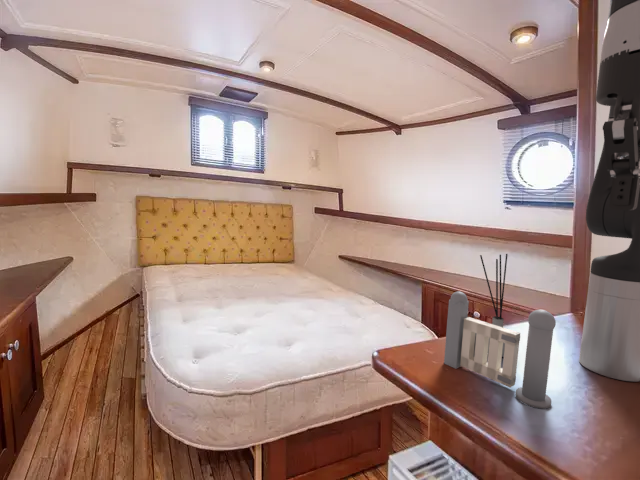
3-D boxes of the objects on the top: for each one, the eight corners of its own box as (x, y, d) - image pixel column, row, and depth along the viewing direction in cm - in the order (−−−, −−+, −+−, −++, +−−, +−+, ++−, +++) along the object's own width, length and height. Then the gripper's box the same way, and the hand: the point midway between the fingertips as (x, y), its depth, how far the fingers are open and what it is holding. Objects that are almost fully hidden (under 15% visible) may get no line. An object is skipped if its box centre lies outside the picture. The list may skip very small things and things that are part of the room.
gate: (515, 384, 54) (520, 332, 53) (509, 387, 53) (515, 335, 52) (465, 363, 61) (469, 316, 60) (459, 365, 60) (463, 318, 59)
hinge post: (523, 387, 55) (532, 303, 53) (556, 401, 51) (567, 311, 49) (509, 397, 52) (519, 308, 50) (543, 412, 48) (554, 317, 46)
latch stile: (454, 358, 64) (459, 288, 63) (482, 370, 60) (489, 295, 58) (442, 363, 62) (447, 290, 60) (471, 376, 58) (478, 298, 56)
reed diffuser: (503, 367, 61) (514, 258, 59) (464, 355, 66) (472, 253, 63) (515, 349, 69) (525, 252, 67) (479, 339, 73) (487, 248, 71)
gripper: (616, 77, 45) (599, 209, 47) (582, 48, 37) (564, 208, 39) (701, 60, 39) (677, 211, 41) (682, 20, 31) (654, 211, 33)
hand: (622, 209), depth 40 cm, fingers closed
